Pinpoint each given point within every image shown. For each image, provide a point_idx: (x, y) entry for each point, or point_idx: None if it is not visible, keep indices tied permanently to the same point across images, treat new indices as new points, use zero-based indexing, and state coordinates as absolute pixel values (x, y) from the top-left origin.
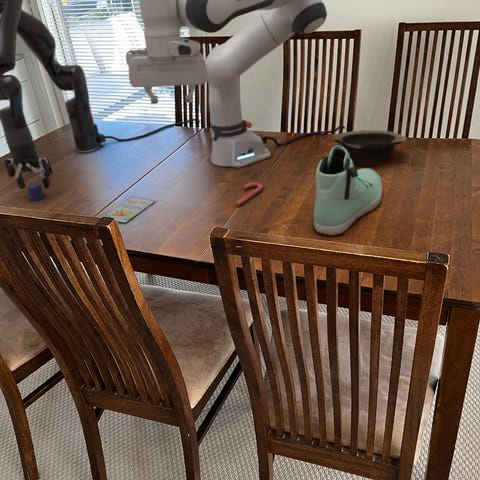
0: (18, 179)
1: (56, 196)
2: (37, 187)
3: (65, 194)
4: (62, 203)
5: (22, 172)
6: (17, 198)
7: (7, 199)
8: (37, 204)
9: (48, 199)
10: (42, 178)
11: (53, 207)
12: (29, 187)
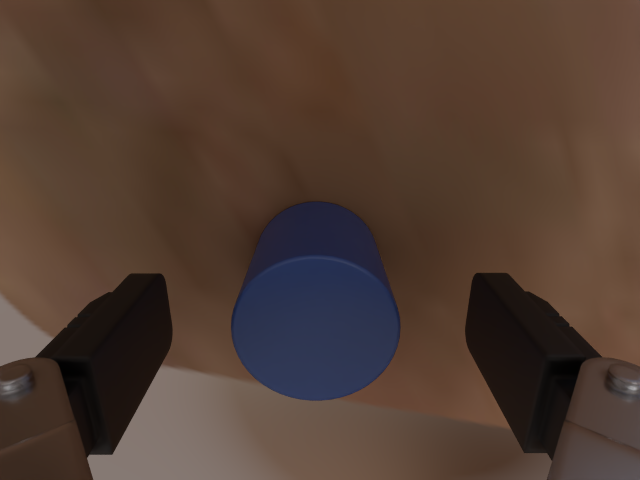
0: (100, 448)
1: (500, 233)
2: (384, 366)
3: (585, 191)
4: None
5: (72, 415)
6: (106, 263)
7: (17, 280)
8: None
9: (439, 290)
10: (536, 446)
11: None
12: (287, 387)
